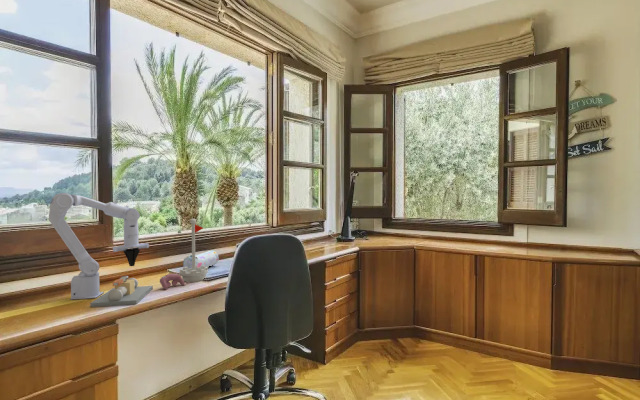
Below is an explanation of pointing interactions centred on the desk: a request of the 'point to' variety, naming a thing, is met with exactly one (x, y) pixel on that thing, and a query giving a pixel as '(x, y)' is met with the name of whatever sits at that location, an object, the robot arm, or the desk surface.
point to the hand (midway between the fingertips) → (131, 265)
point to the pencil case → (202, 259)
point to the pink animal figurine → (169, 277)
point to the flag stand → (194, 272)
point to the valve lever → (120, 281)
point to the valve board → (124, 299)
